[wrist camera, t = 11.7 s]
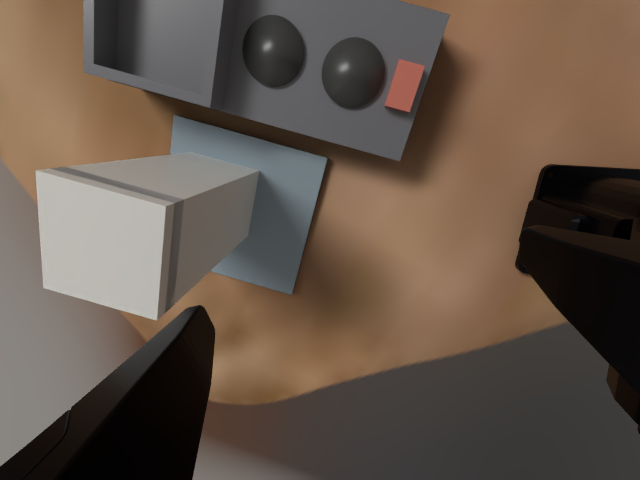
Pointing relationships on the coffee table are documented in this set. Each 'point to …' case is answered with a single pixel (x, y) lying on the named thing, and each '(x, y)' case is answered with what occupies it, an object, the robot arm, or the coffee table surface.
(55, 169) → the block
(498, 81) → the coffee table surface
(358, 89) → the power strip
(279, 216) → the rubber pad
